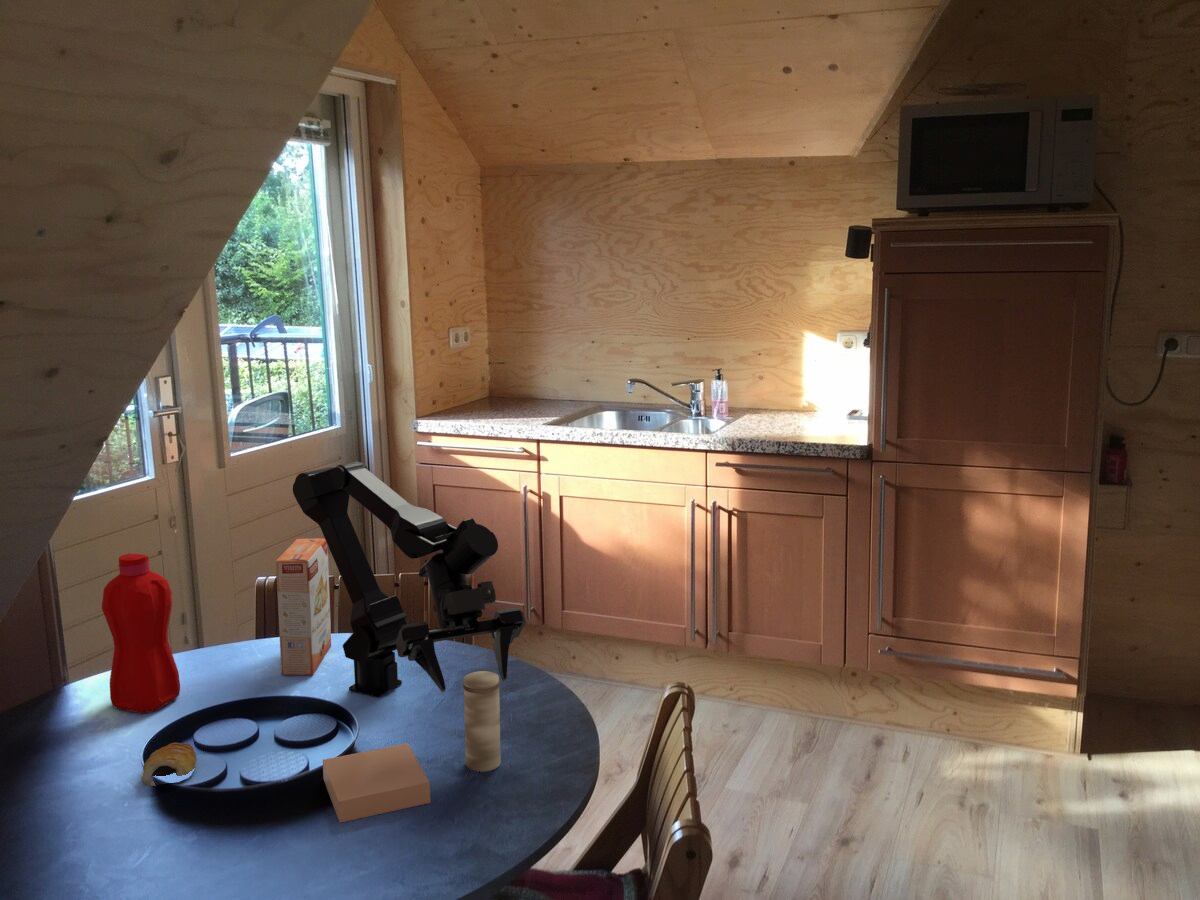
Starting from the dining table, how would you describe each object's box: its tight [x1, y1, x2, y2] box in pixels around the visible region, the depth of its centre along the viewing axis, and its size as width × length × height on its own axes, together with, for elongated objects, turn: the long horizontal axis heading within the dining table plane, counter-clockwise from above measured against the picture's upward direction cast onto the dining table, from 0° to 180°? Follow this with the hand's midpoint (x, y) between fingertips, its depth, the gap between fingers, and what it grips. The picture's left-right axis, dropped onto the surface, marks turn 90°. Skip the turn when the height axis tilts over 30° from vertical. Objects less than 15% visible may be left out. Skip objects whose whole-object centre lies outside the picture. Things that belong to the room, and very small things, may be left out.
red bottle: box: [101, 552, 181, 714], centre depth 168 cm, size 9×11×25 cm
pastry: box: [140, 741, 197, 787], centre depth 148 cm, size 9×7×4 cm
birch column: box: [462, 670, 502, 773], centre depth 148 cm, size 5×5×13 cm
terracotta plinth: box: [322, 742, 431, 824], centre depth 142 cm, size 12×12×3 cm
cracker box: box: [275, 537, 332, 676], centre depth 184 cm, size 14×6×21 cm, turn 1°
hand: (474, 685), depth 151 cm, fingers open, 9 cm apart
